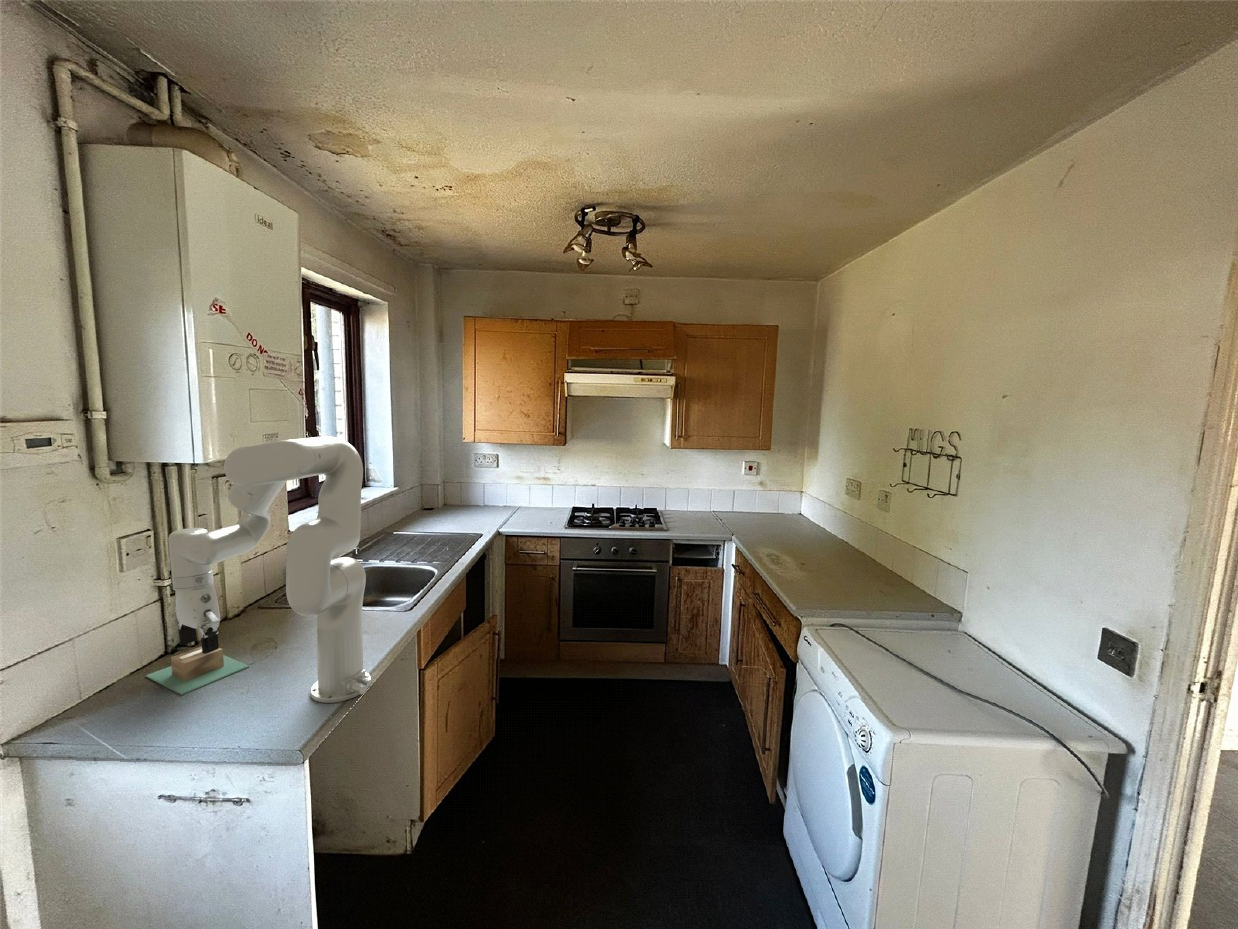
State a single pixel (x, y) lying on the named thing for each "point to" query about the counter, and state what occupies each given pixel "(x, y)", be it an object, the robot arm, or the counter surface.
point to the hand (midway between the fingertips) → (199, 647)
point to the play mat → (185, 687)
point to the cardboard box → (196, 663)
